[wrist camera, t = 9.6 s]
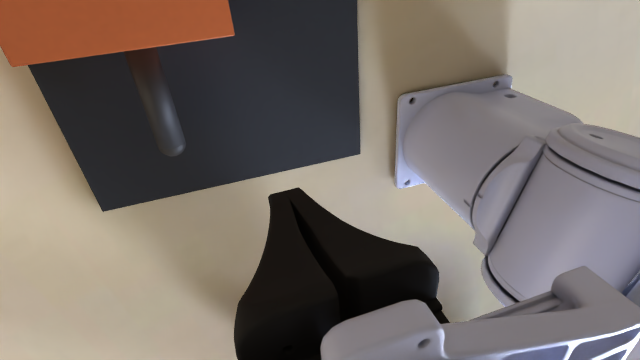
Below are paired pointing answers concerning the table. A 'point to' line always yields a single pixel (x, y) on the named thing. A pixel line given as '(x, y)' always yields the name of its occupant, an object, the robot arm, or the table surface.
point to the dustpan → (116, 42)
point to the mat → (217, 103)
